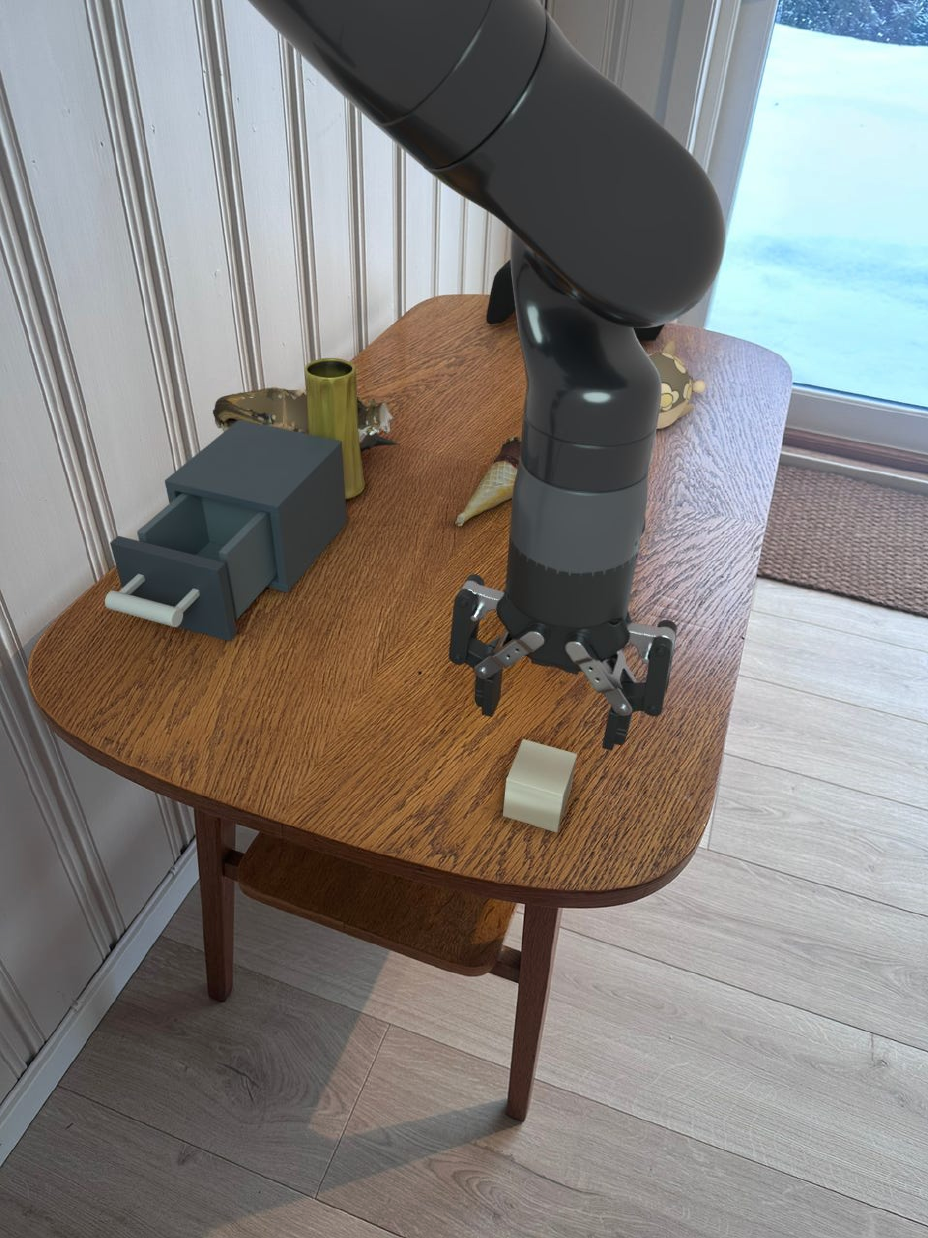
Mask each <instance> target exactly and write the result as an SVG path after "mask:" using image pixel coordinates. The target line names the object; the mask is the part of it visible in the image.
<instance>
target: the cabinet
mask: <svg viewBox="0 0 928 1238" xmlns="http://www.w3.org/2000/svg"><path fill="white" fill-rule="evenodd" d="M164 485H165V489H166V494H167V498H168V505H169V504H170V503H171V502H172V501H173V500H174V499H176V498H177V497H178V496H179V495H180V494H181V493H187V494H192V495H196V496H200V497H204V498H209V499H213V500H217V501H221V502H226V503H230V504H234V505H238V506H243V507H247V508H251V509H255V510H260V511H264V512H268V513H270V518H271V526H272V534H273V542H274V550H275V558H276V566H277V575H276V576H275V577H274V578H273V580H272V581H271V582H270V583H269V584H268V585H267V586H266V587H265V588H267V589H272V590H275V591H279V592H282V593H283V592H284V593H289V592H290V591H291V589H292V588H293V587H294V586H295V585H296V584H297V582H299V580H300V579H301V578H302V576H303V575H304V574H305V573H306V572H307V570H308V569H309V568H310V567H311V566H312V565H313V564H314V562H315V561H316V560H317V559H318V557H319V556H321V554H322V553H323V552H324V550H325V549H326V548H327V547H328V546H329V545H330V543H331V542H332V541H333V540H334V538H336V536H337V535H338V534H339V533H340V532H341V531H342V529H343V528H344V527H345V525H346V524H347V522H348V519H347V499H346V500H345V483H344V467H343V450H342V441H338V440H333V439H328V438H324V437H319V436H314V435H309V434H305V433H300V432H295V431H290V430H285V429H281V428H276V427H271V426H266V425H261V424H257V423H252V422H247V421H242V420H238V421H237V422H236V423H235V424H233V425H232V426H231V427H230V428H228V429H227V430H226V431H225V432H224V431H223V432H222V433H221V434H220V435H219V436H217V437H216V438H215V439H214V440H212V441H211V442H210V443H209V444H207V445H206V446H205V447H204V448H202V449H201V450H200V451H199V452H198V453H196V454H195V455H194V456H192V457H191V458H190V459H189V460H188V461H187V462H185V463H184V464H183V465H182V466H180V467H179V468H178V469H177V470H176V471H174V472H173V473H172V474H170V475H169V476H168V477H167V478H166V479H164Z"/></svg>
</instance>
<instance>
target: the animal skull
mask: <svg viewBox="0 0 928 1238" xmlns="http://www.w3.org/2000/svg"><path fill="white" fill-rule="evenodd" d="M366 403H367V404H369V405H366V404H365V402H364V401H363V400H362V399H361V397H359V395H358V394H357V407H358V436H359V444H360V452H361V454H362V453H364V452H365V451H367V450H368V451H371V449H372V448H375V447H377V446H378V447H379V446H398V445H400V443H398V442H395V441H393V440H391V439H388V438H385V437H383V436H380V435H379V434H378V433H379V432H380V430H382V431H383V433H384V434H389V433H390V432H391V429H390V427H391V425H390V424H391V421H392V419H393V418H394V417H393V415H392V413H391V412H390V409H389V408H388V405H387V401H384V402H377V401H376V399H375V397H373V398H370V399H369V400H367V401H366ZM212 414H213V417H214V423H215V425H216V427H217V428H218V429H221V431H223V432H225V431H226V430H227V429H228V428H230V427H231V426H232V425H233V424H235V423H236V422H237V421H238V420H242V421H247V422H252V423H257V424H261V425H266V426H271V427H276V428H281V429H285V430H290V431H295V432H300V433H305V434H309V429H308V410H307V395H306V389H287V388H282V387H281V388H280V387H275V386H271V387H266V388H261V389H256V390H250V391H244V392H237V393H232V394H227V395H224V396H221V397H219V398H218V399H217V400H216V401H215V403H214V409H213V410H212Z"/></svg>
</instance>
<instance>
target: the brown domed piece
mask: <svg viewBox="0 0 928 1238" xmlns="http://www.w3.org/2000/svg"><path fill="white" fill-rule="evenodd" d="M676 352H677V346H676V340H675V339H672V338H669V339H668V340H667V341H666V343H665V344H664V347H663V349H661V348H660V349H659V351H658V352H653V353H650V354H647V355H648V356H649V357H650V359H651V360H652V362H653V363H654V365H655V367H656V368H657V370H658V372H659V375H660V378H661V384H662V394H661V404H660V411H659V418H658V423H657V429H664V428H667V427H669V426H670V425H673V423H674V422H676V421H677V420H679V419H681V418H683V417H685V416H686V415H687V414H688V413H690V412H692V411H693V410H694V409H695V407H694V406H692V405H691V404H690V401H691V400H690V399H691V396H692V393H694V394H696V395H701V394H704V393H705V391H706V389H707V384H706V382H705V381H704V380H701V379H699V380H695V379H694V377H693V376H692V375H690V374H689V371H688V369H687V368H686V366H685V364H684V363H683V361H681V360H680V358H678V357H676V354H677V353H676ZM657 429H656V430H657Z"/></svg>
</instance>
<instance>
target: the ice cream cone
mask: <svg viewBox="0 0 928 1238" xmlns="http://www.w3.org/2000/svg"><path fill="white" fill-rule="evenodd" d="M521 435H522V434H518V435H512V436H509V437H507V439H506V440H505V441H504V442H503V443H502V445H501V448H500V452H499V454H497V456H496V457H495V459H494V460H493V463H492V465H491V466H490V467H489V469H488V470H487V472H486V474H485V475H484V476H483V478H482V479H481V481H480V482H479V484H478V485H477V486H476V489H475V491H474V492H473V494H472V496H471V497H470V499H469V501H467V503H466V505H465V507H464V510H463V511H462V512H460V514H459V515H458V516H457V519H456V521H455V522H454V524H456V525H457V526H458V527H462V526H463V525H464V523H465V522H466V521H468V520H469V519H471V518H473V517H474V516H478V515H481V514H482V513H483V512H485V511H488V510H490V509H493V508H495V507H498V506H499V505H500V504H503V503H505V502H506V501H508V500H510V499H512V494H513V487H514V482H515V478H516V474H517V469H518V465H519V458H520V448H521Z"/></svg>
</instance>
